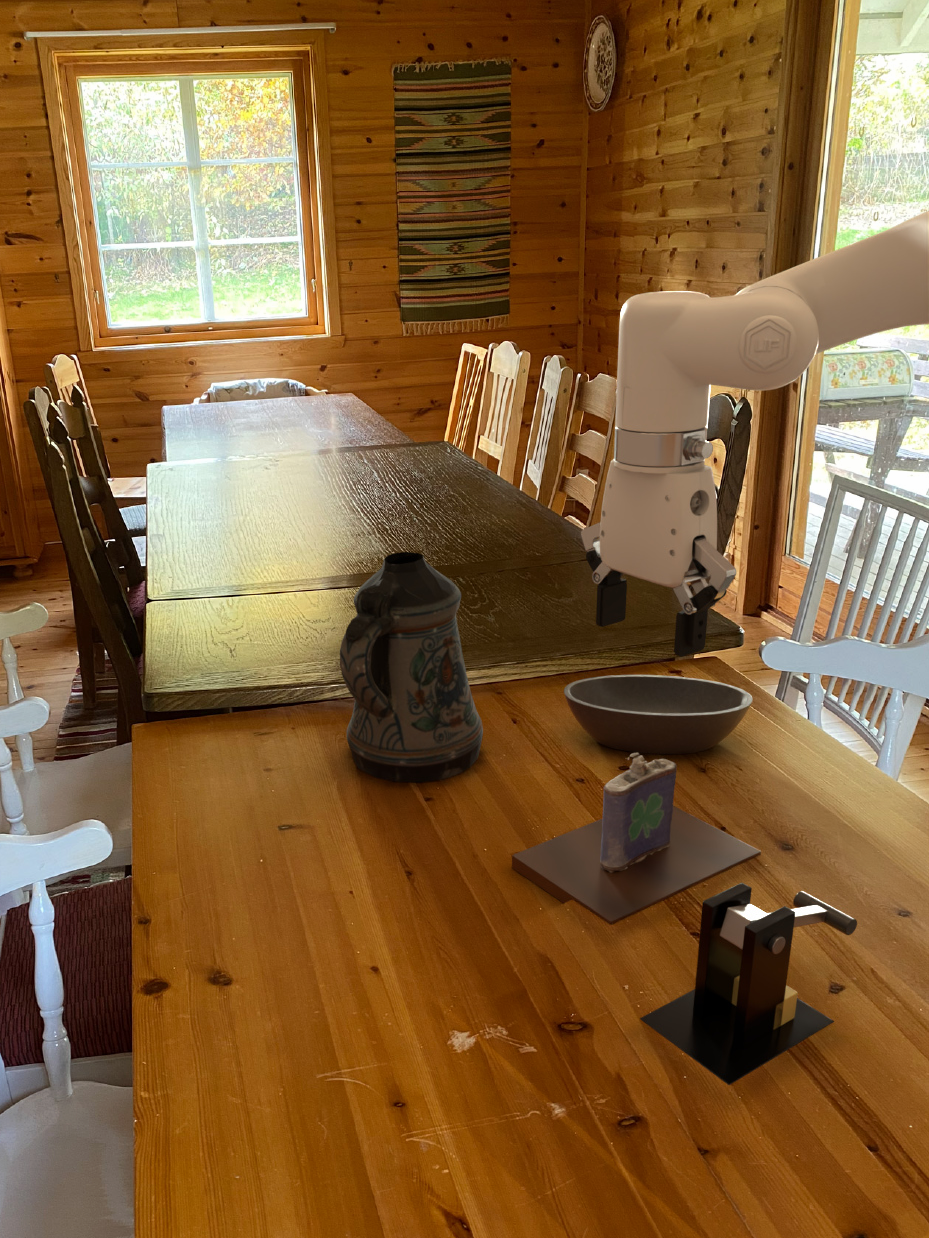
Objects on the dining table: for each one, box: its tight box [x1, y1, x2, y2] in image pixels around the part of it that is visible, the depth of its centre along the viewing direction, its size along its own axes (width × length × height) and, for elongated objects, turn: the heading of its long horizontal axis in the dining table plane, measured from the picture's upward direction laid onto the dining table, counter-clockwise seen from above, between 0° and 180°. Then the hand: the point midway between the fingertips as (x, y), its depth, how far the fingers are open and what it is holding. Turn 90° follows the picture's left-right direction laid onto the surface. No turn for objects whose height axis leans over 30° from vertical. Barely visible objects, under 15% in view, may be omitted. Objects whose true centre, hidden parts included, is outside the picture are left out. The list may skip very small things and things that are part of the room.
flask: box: [600, 752, 678, 873], centre depth 107 cm, size 9×3×11 cm, turn 126°
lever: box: [720, 890, 858, 949], centre depth 86 cm, size 12×5×2 cm, turn 123°
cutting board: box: [511, 805, 762, 926], centre depth 109 cm, size 20×14×2 cm
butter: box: [732, 975, 799, 1029], centre depth 87 cm, size 3×5×2 cm, turn 32°
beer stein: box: [339, 551, 484, 784], centre depth 129 cm, size 16×19×25 cm
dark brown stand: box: [639, 882, 835, 1086], centre depth 85 cm, size 12×9×12 cm
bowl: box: [563, 674, 753, 755], centre depth 134 cm, size 12×22×6 cm, turn 78°
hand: (648, 637), depth 100 cm, fingers open, 9 cm apart
